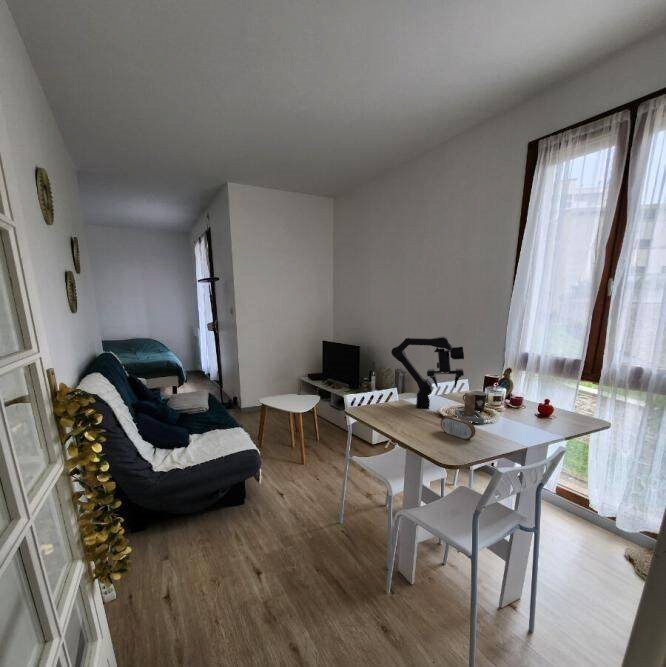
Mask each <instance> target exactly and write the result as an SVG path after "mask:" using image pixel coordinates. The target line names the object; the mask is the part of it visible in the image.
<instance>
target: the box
mask: <svg viewBox="0 0 666 667" xmlns="http://www.w3.org/2000/svg"><path fill="white" fill-rule="evenodd" d="M454 412H455V413H454V415H455V414H456V415H457V416H458V418H461V419H464V420H467V421H474V422H478V423H480V424H479V425H483V424H485V418H484V417H483V416H482V414H481V412H478V411H474V415H476V416H477V417H478V418H477V417H462V416H461V414H462V413H464V409H455V410H454Z"/></svg>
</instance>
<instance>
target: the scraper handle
mask: <svg viewBox="0 0 666 667" xmlns="http://www.w3.org/2000/svg"><path fill="white" fill-rule="evenodd" d="M464 395H465V396H464V400H465V401H464V408H463V410H464V413H462V417H476V416H475V415H474V408H475V394H473V393H470V392H465V393H464Z"/></svg>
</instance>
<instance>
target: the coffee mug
mask: <svg viewBox="0 0 666 667" xmlns="http://www.w3.org/2000/svg"><path fill="white" fill-rule="evenodd" d="M469 393H473V394H475V408H474V411H480V412H479V413H483V412H484V410H485V406H486V401H487V395H488V393H487V392H485V391H482V390H469ZM462 400H463V401H464V402H465V394H464V395H462ZM482 411H483V412H482Z"/></svg>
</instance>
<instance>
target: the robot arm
mask: <svg viewBox="0 0 666 667" xmlns="http://www.w3.org/2000/svg"><path fill="white" fill-rule="evenodd" d="M408 346H429V347H430V346H431V347H435V349H434V350H433V351H434V353H437V357H438V358H437V359H438V362H436V368H437V369H439V370H435V369H434V368H432V369H431V368H430V369H428V370H427V371H426V376H427V377H429V378H426V379H425V378H424V377H423V376H422V375H421V374H420V372H419V371H418V370H417V369H416V368H415V366H414V365H413V364H412V362H411V361H410V360H409V358H408V356H407V354H406V352H405V349H407V348H408ZM390 352H391V355H392V357H393V358H395V359H396V360H397V361H398V362H399V363H401V364H402V365H403V367H404V369H406V370H407V372H408V373H409V374H410V376H411V377H412V378H413V380H414V381H415V382H416V385H417V387H418V391H417V393H416V404H415V406H416V408H417V409H421V410H422V409H424V410H429V409H430V406H431V405H430V403H431V402H430V397H429V396H430V395H431V394H432V392H433V389H434V388H433V383H432V382H430V380H429V379H432V381H433V382H434V385H435V387H436V389H438V386H439V385H438V380H437V375H454V388H455V389H456V387H457V384H458V381H459V379H460V378H462V377H463V376H464V374H465V373H464V369H463V368H455V369H454V370H452V368H451V361H450V358H451V359H452V360H465V354H464V346H463V345H462V346H453V345H451V343H450V341H449V339H448V337H446V336H438V337H437V336H436V337H432V338H425V337H406V338H405V339H404V340H403V341H402V342H401V343H399V345H396V346H394V347H393V348H392V349H391V351H390Z"/></svg>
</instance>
